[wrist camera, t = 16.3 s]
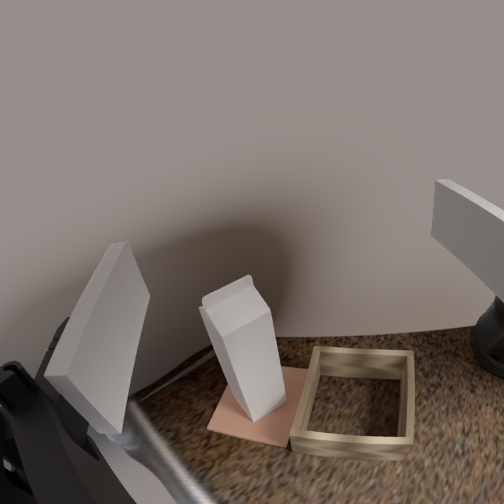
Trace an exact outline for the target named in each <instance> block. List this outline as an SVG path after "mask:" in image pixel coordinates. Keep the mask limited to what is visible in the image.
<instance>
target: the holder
mask: <svg viewBox="0 0 504 504" xmlns="http://www.w3.org/2000/svg"><path fill="white" fill-rule="evenodd" d="M320 375H326V376H338V377H352V378H371V379H400V401H399V420H398V433H397V437H374V436H355V435H342V434H331V433H322V432H313V431H306V430H307V426H308V422H309V419H310V415H311V411H312V407H313V403H314V399H315V395H316V391H317V387H318V383H319V378H320ZM414 416H415V373H414V350H375V349H353V348H337V347H323V346H314V348H313V353H312V357H311V360H310V364H309V368H308V372H307V376H306V380H305V383H304V387H303V390H302V394H301V398H300V401H299V405H298V408H297V411H296V415H295V418H294V422H293V425H292V428H291V431H290V434H289V437H290V442H291V446H292V451H293V452H296V453H303V454H310V455H317V456H326V457H336V458H347V459H362V460H402V459H403V458H404V457H405V455H406V454H407V452H408V451H409V449H410V448H411V447H412V445H413V438H414Z"/></svg>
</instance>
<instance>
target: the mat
mask: <svg viewBox="0 0 504 504" xmlns="http://www.w3.org/2000/svg"><path fill="white" fill-rule="evenodd" d="M281 370H282V376H283V381H284V387H285V393H286V398H287V402H286V403H284V404H283V405H281V406H280V407H278V408H277V409H275V410H273V411H272V412H270V413H269V414H267V415H265V416H264V417H262V418H261V419H259V420H257V421H256V422H253V421H252V420H251V419H250V417H249V416H248V415H247V413H246V412H245V411H244V410H243V408H242V407H241V406H240V404H239V403H238V402H237V400H236V399H235V398H234V396H233V394H232V392H231V389H230V387H229V384H228V385H227V387H226V389H225V391H224V393H223V395H222V397H221V399H220V402H219V404H218V406H217V408H216V410H215V412H214V414H213V416H212V418H211V420H210V422H209V424H208V426H207V430H210V431H213V432H217V433H221V434H225V435H229V436H232V437H237V438H241V439H245V440H249V441H254V442H259V443H264V444H269V445H274V446H279V447H285V448H287V444H288V441H289V438H290V437H289V434H290V431H291V428H292V425H293V422H294V418H295V415H296V411H297V408H298V405H299V401H300V398H301V394H302V390H303V387H304V383H305V380H306V376H307V372H308V369H301V368H292V367H284V366H281Z"/></svg>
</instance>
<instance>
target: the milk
mask: <svg viewBox="0 0 504 504" xmlns="http://www.w3.org/2000/svg"><path fill="white" fill-rule="evenodd" d="M202 303H203V306H202V307H199V310H200V313H201V316H202V318H203V321H204V324H205V326H206V329H207V332H208V334H209V337H210V340H211V342H212V345H213V347H214V350H215V352H216V355H217V357H218V360H219V362H220V365H221V367H222V370H223V372H224V375H225V377H226V380H227V382H228V384H229V387H230V389H231V392H232V394H233V396H234V398H235V399H236V400H237V402H238V403H239V404H240V406H241V407H242V408H243V410H244V411H245V412H246V413H247V415H248V416H249V417H250V419H251V420H252V421H253V422H256V421H257V420H259V419H261V418H262V417H264V416H265V415H267V414H269V413H270V412H272V411H273V410H275V409H277V408H278V407H280V406H281V405H283V404H284V403H286V402H287V398H286V393H285V387H284V381H283V376H282V370H281V365H280V359H279V354H278V348H277V343H276V338H275V332H274V327H273V321H272V316H271V311H270V309H269V307H268V306H267V304H266V303H265V301H264V300H263V299H262V297H261V296H260V294H259V293H258V291H257V290H256V288H255V287H254V285H253V281H252V277H251V276H250V275H247V276H245V277H243V278H241V279H239V280H237V281H235V282H233V283H231V284H229V285H227V286H225V287H223V288H221V289H219V290H217V291H214V292H212V293H210V294H209V295H206V296H204V297H203V298H202Z"/></svg>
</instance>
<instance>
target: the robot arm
mask: <svg viewBox="0 0 504 504" xmlns="http://www.w3.org/2000/svg"><path fill="white" fill-rule="evenodd" d="M434 194H435V195H434V209H433V221H432V230H431V236H432V237H433V238H434V239H436V240H437V241H438V242H439V243H440V244H442V245H443V246H444V247H445V248H447V250H448V251H450V252H451V253H452V254H453V255H454V256H455V257H456V258H458V259H459V260H460V261H461V262H462V263H463V264H464V265H465V266H466V267H467V268H469V269H470V270H471V271H472V272H473V273H474V274H475V275H476V276H477V277H478V278H479V279H480V280H481V281H482V282H483V283H484V284H485V285H486V286H487V287H489V288H490V289H491V290H492V291H493V292H494V293H495V294H496V297H495V299H494V301H493V303H492V304H491V306H490V307H489V308H488V309H487V311H486V312H485V313H484V314H483V315H482V316H481V317H480V318H479V320H478V322H477V324H476V326H475V329H474V331H473V334H472V348H473V352H474V354H475V356H476V358H477V360H478V361H479V362H480V364H481V365H482V366H483V367H484V368H485V369H487V370H488V371H489V372H491V373H493V374H495V375H497V376H500V377H503V378H504V211H503V210H501V209H500V208H498V207H497V206H495V205H493V204H492V203H490V202H488V201H487V200H485V199H483V198H481V197H480V196H478V195H476V194H475V193H473V192H471V191H469V190H467V189H466V188H464V187H462V186H460V185H458V184H456V183H454V182H452V181H451V180H449V179H442V180H435V193H434ZM149 299H150V294H149V292H148V290H147V288H146V285H145V284H144V281H143V278H142V276H141V274H140V271H139V269H138V266H137V264H136V261H135V259H134V256H133V254H132V251H131V249H130V246H129V244H128V241H127V240H126V241H122V242H118V243H114V244H111V245H110V246H109V248H108V249H107V251H106V253H105V255H104V256H103V258H102V260H101V261H100V263H99V265H98V266H97V268H96V270H95V272H94V273H93V275H92V277H91V279H90V281H89V282H88V284H87V286H86V288H85V290H84V292H83V294H82V296H81V297H80V299H79V301H78V303H77V305H76V307H75V309H74V311H73V313H72V315H71V317H67V319H66V320H65V321H64V322H63V323H62V324H61V325H60V326H59V327H58V329H57V331H56V333H55V335H54V337H53V341H52V342H51V344H50V346H49V348H48V349H49V350H48V351H47V352H46V354H45V356H44V359H43V361H42V363H41V365H40V368H39V370H38V372H37V375H36V377H35V379H33V378H32V377H31V376H30V375H29V374H28V372H27V371H26V370H25V369H24V368H23V366H22V365H21V364H20V363H19V362H16V361H12V362H8V363H6V364H4V365H3V366H1V367H0V404H1V405H2V406H3V407H0V504H136V502H135V501H134V500H133V499H132V497H131V496H130V495H129V493H128V492H127V491H126V489H125V488H124V487H123V485H122V484H121V482H120V481H119V480H118V478H117V477H116V475H115V474H114V472H113V471H112V469H111V468H110V466H109V465H108V463H107V462H106V460H105V459H104V457H103V456H102V454H101V452H100V451H99V449H98V448H97V446H96V444H95V443H94V441H93V439H92V438H91V437H90V436H89V435H88V434H87V430H88V426H89V424H90V425H91V426H92V427H93V428H94V429H95V430H96V431H97V432H99V434H121V432H122V426H123V420H124V414H125V408H126V402H127V397H128V392H129V386H130V381H131V375H132V371H133V366H134V362H135V357H136V353H137V348H138V344H139V339H140V335H141V331H142V327H143V322H144V318H145V314H146V310H147V307H148V302H149ZM3 459H5V460H6V461H7V462H9V463H10V464H11V468H12V469H11V471H9V470H8V469H6V468H5V467H4V464H3Z"/></svg>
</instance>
